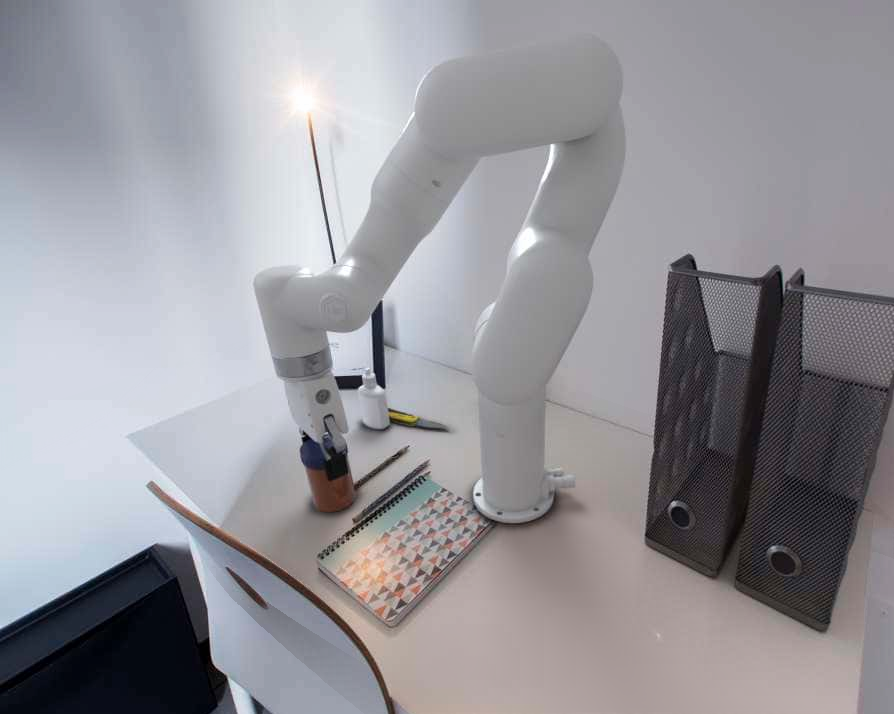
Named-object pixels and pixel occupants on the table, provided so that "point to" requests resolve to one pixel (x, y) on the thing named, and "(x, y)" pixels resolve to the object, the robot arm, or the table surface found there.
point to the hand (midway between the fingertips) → (327, 465)
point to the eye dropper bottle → (373, 402)
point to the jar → (331, 490)
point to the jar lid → (315, 453)
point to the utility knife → (412, 420)
